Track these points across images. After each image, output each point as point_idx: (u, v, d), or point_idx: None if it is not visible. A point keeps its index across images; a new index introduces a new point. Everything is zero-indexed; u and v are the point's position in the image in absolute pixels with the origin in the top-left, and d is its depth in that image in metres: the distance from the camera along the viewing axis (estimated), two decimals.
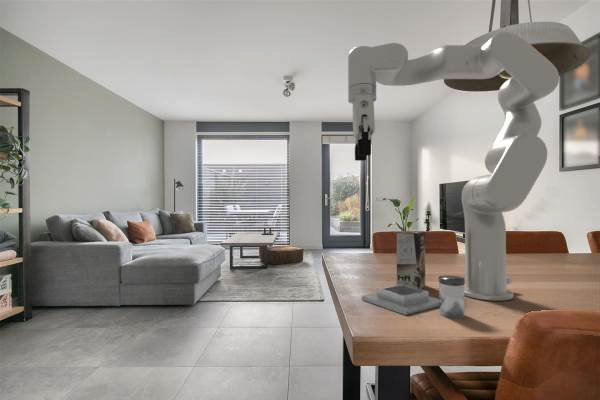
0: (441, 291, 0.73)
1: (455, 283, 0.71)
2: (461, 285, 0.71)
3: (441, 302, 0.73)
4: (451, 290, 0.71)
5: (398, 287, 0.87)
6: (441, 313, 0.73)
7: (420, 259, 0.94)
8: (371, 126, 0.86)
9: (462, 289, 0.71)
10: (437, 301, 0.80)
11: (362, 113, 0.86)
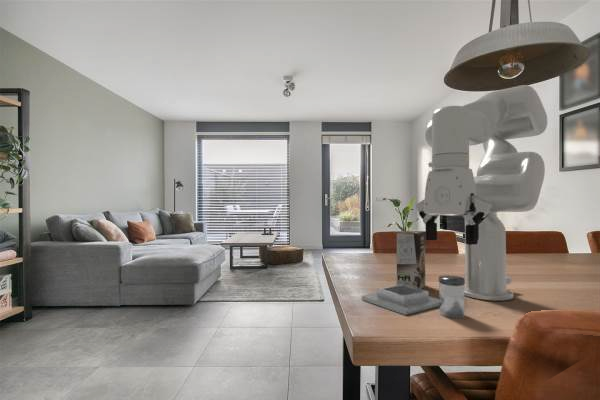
0: (441, 291, 0.73)
1: (455, 283, 0.71)
2: (461, 285, 0.71)
3: (441, 302, 0.73)
4: (451, 290, 0.71)
5: (398, 287, 0.87)
6: (441, 313, 0.73)
7: (420, 259, 0.94)
8: None
9: (462, 289, 0.71)
10: (437, 301, 0.80)
11: None
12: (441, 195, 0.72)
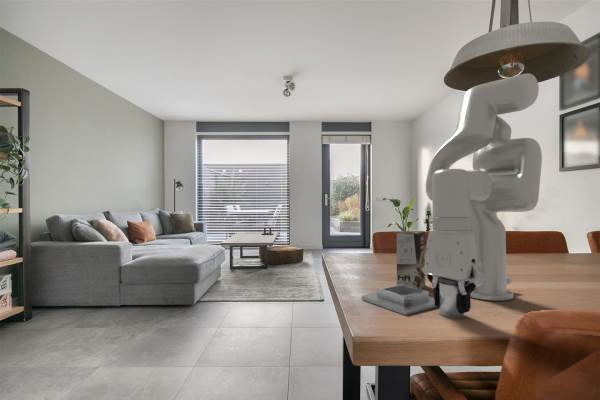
0: (441, 291, 0.73)
1: (455, 283, 0.71)
2: None
3: (441, 302, 0.73)
4: (451, 290, 0.71)
5: (398, 287, 0.87)
6: (441, 313, 0.73)
7: (420, 259, 0.94)
8: None
9: None
10: None
11: None
12: (442, 258, 0.72)
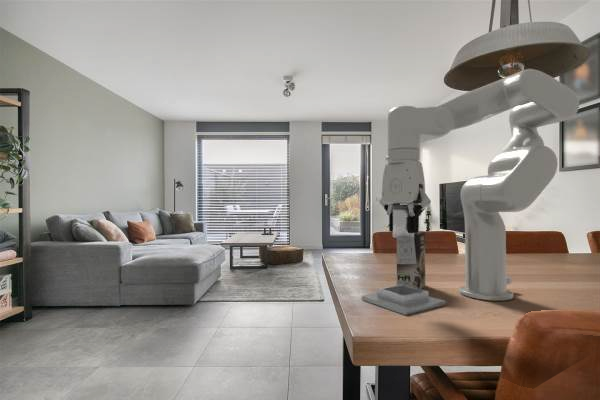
0: (394, 216, 0.82)
1: (405, 207, 0.80)
2: None
3: (393, 226, 0.82)
4: (402, 213, 0.80)
5: (398, 287, 0.87)
6: (393, 235, 0.82)
7: (420, 259, 0.94)
8: None
9: None
10: (437, 301, 0.80)
11: None
12: (395, 185, 0.81)
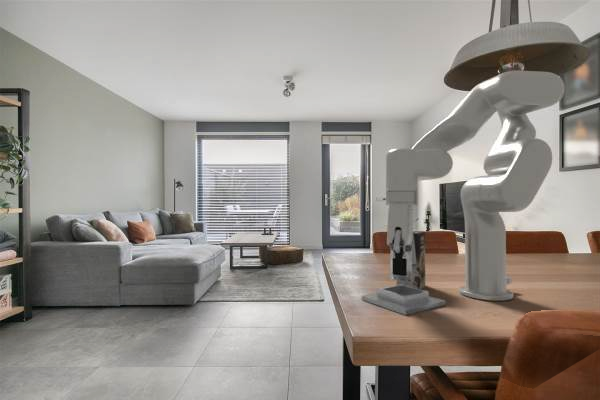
0: None
1: (392, 248, 0.82)
2: None
3: None
4: (391, 254, 0.82)
5: (398, 287, 0.87)
6: None
7: (420, 259, 0.94)
8: None
9: None
10: (437, 301, 0.80)
11: None
12: None
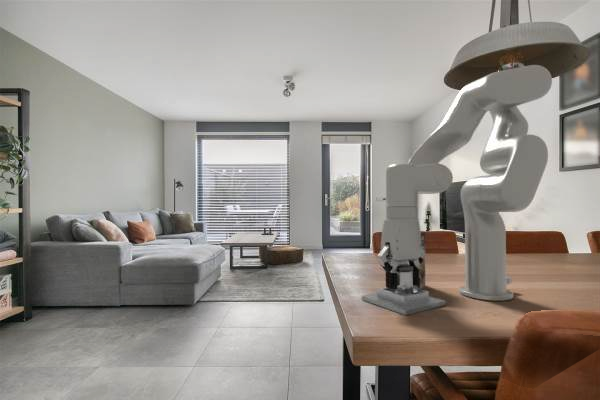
0: None
1: None
2: None
3: None
4: None
5: None
6: None
7: None
8: None
9: None
10: (437, 301, 0.80)
11: None
12: None
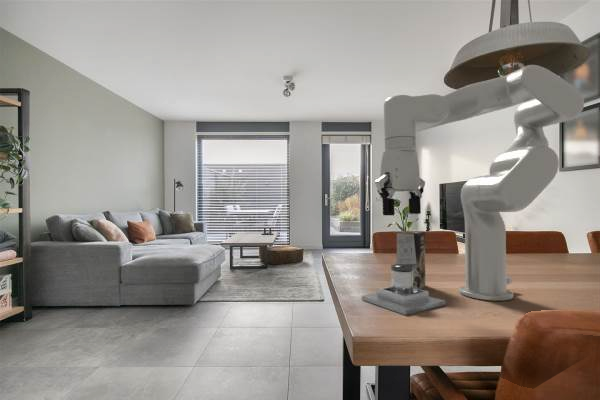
0: None
1: (391, 267, 0.83)
2: (394, 270, 0.82)
3: None
4: None
5: None
6: None
7: (420, 259, 0.94)
8: None
9: (395, 275, 0.81)
10: (437, 301, 0.80)
11: None
12: None
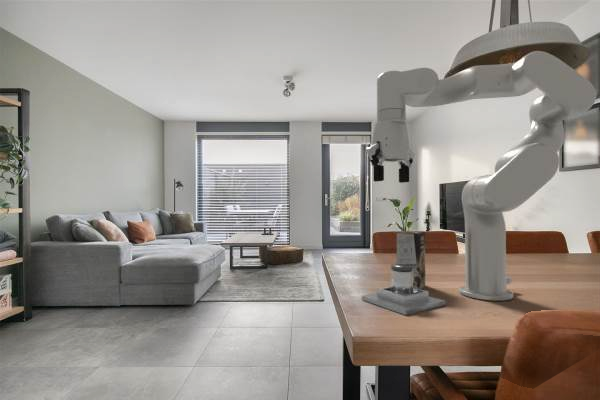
0: None
1: (391, 267, 0.83)
2: (394, 270, 0.82)
3: None
4: None
5: None
6: None
7: (420, 259, 0.94)
8: None
9: (395, 275, 0.81)
10: (437, 301, 0.80)
11: None
12: None
